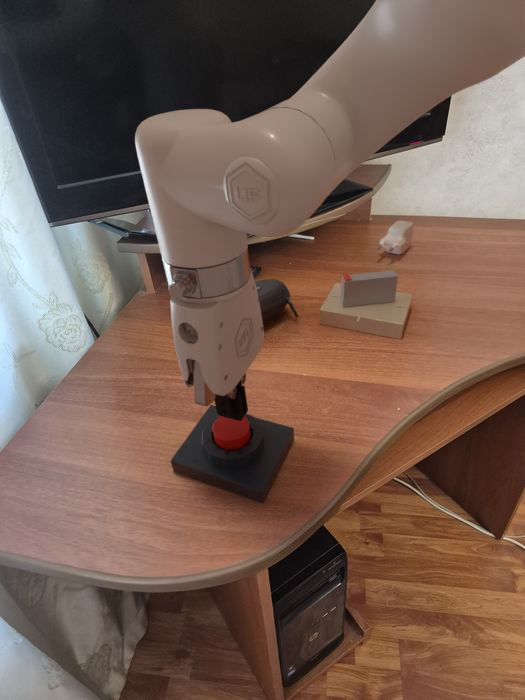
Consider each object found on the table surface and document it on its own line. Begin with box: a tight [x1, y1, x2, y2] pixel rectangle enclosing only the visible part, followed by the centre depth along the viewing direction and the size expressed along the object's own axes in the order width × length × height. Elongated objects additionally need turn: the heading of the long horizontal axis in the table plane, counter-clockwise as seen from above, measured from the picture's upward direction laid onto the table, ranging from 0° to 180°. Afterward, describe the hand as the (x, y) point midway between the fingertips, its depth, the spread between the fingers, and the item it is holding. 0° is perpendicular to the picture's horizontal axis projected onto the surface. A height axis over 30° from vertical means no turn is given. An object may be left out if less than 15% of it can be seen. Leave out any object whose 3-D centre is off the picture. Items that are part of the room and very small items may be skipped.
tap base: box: [318, 282, 414, 340], centre depth 77 cm, size 14×13×3 cm
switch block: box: [170, 404, 295, 504], centre depth 54 cm, size 12×10×4 cm
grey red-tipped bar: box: [340, 269, 399, 307], centre depth 74 cm, size 9×2×5 cm, turn 96°
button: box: [213, 416, 251, 450], centre depth 52 cm, size 4×4×2 cm
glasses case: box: [255, 278, 299, 327], centre depth 75 cm, size 18×10×8 cm, turn 135°
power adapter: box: [376, 219, 414, 255], centre depth 94 cm, size 11×5×6 cm, turn 143°
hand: (232, 413), depth 50 cm, fingers closed
